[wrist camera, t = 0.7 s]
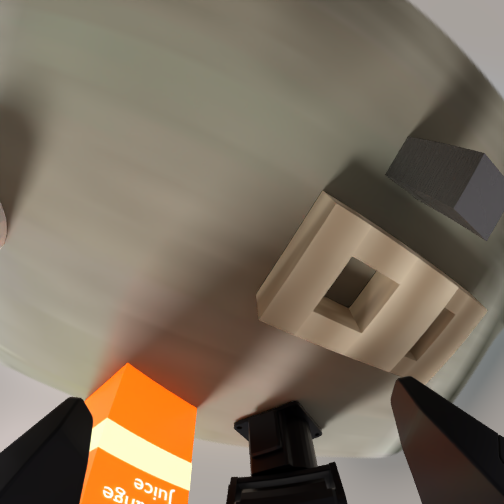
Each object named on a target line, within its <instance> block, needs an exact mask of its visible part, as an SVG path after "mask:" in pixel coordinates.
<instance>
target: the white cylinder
mask: <svg viewBox="0 0 504 504" xmlns="http://www.w3.org/2000/svg"><path fill="white" fill-rule="evenodd" d="M6 235H7V223H6V217H5V213H4V210H3V207H2V204H1V203H0V249H1V248H2V246H3V245H4V244H5V239H6Z"/></svg>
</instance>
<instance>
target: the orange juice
mask: <svg viewBox="0 0 504 504" xmlns="http://www.w3.org/2000/svg"><path fill="white" fill-rule="evenodd" d="M84 402H85V404H86V405H87V407H88V409H89V411H90V412H91V414H92V416H93V428H92V436H91V443H90V451H89V459H88V465H87V470H86V475H85V480H84V484H83V489H82V494H81V499H80V504H188V494H189V490H190V479H191V468H192V463H191V461H192V450H193V441H194V431H195V421H196V412H197V408H196V407H194V406H192V405H191V404H189V403H187V402H186V401H184V400H182V399H181V398H179V397H178V396H176V395H174V394H173V393H171V392H170V391H168V390H167V389H165V388H164V387H162V386H161V385H159V384H158V383H156V382H155V381H153V380H152V379H150V378H149V377H147V376H146V375H144V374H143V373H141V372H140V371H139V370H137V369H136V368H134V367H133V366H131V365H130V364H129V363H127V364H126V365H125V366H123V367H122V368H121V369H120V370H119V371H118V372H117V373H116V374H114V375H113V376H112V377H111V378H110V379H109V380H108V381H107V382H106V383H104V384H103V385H102V386H101V387H100V388H99V389H98V390H97V391H96V392H94V393H93V394H92V395H91V396H90V397H89V398H88V399H87V400H86V401H84Z"/></svg>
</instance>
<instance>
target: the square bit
mask: <svg viewBox="0 0 504 504" xmlns="http://www.w3.org/2000/svg"><path fill="white" fill-rule="evenodd" d="M385 175H386V176H387V177H388V178H390V179H391V180H392V181H394V182H395V183H396V184H398V185H399V186H400V187H402V188H403V189H404V190H405V191H407V192H408V193H409V194H411V195H412V196H413V197H414V198H416V199H417V200H419V201H420V202H422V203H424V204H426V205H428V206H429V207H431V208H433V209H435V210H436V211H438V212H440V213H442V214H443V215H445V216H447V217H448V218H450V219H452V220H454V221H455V222H457V223H459V224H460V225H462V226H463V227H465V228H467V229H468V230H470V231H472V232H473V233H475V234H476V235H478V236H479V237H481V238H483V239H484V240H486V241H487V239H488V238H489V236H490V234H491V233H492V231H493V229H494V228H495V226H496V224H497V222H498V221H499V219H500V217H501V215H502V214H503V212H504V176H503V175H502V174H501V173H500V171H499V170H498V169H497V168H496V166H495V165H494V164H493V163H492V162H491V160H490V159H489V158H488V157H487V156H486V155H485V153H482V152H478V151H474V150H470V149H466V148H461V147H457V146H453V145H448V144H444V143H439V142H434V141H429V140H424V139H419V138H413V137H407V139H406V141H405V143H404V144H403V146H402V148H401V149H400V151H399V153H398V154H397V156H396V158H395V159H394V161H393V163H392V164H391V166H390V168H389V169H388V171H387V173H386V174H385Z"/></svg>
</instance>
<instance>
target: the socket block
mask: <svg viewBox="0 0 504 504" xmlns="http://www.w3.org/2000/svg"><path fill="white" fill-rule="evenodd" d="M352 256H353V257H354V258H356V259H358V260H360V261H361V262H363V263H365V264H366V265H368V266H370V267H371V268H373V269H375V270H376V273H375V274H374V275H373V277H372V278H371V280H370V281H369V282H368V284H367V285H366V286H365V288H364V289H363V290H362V292H361V293H360V294H359V296H358V297H357V298H356V300H355V301H354V302H353V304H352V305H351V306H350V308H347V307H345V306H343V305H341V304H339V303H337V302H334V301H332V300H330V299H328V298H326V297H324V295H325V294H326V292H327V291H328V289H329V288H330V287H331V285H332V284H333V283H334V281H335V280H336V278H337V277H338V276H339V274H340V273H341V271H342V270H343V268H344V267H345V266H346V264H347V263H348V261H349V260H350V258H351V257H352ZM256 299H257V309H258V320H259V321H261V322H264V323H266V324H268V325H271V326H273V327H275V328H278V329H280V330H282V331H285V332H287V333H290V334H292V335H294V336H297V337H299V338H302V339H304V340H306V341H309V342H311V343H314V344H316V345H319V346H321V347H324V348H326V349H329V350H331V351H334V352H336V353H339V354H342V355H344V356H347V357H349V358H352V359H355V360H357V361H360V362H362V363H365V364H368V365H370V366H373V367H376V368H379V369H381V370H384V371H387V372H390V373H392V374H395V375H398V376H401V377H405V376H412V377H414V378H415V379H417V380H418V381H420V382H421V383H422V384H424V385H425V384H426V383H427V382H428V381H429V380H430V379H431V378H432V377H433V376H434V375H435V374H436V373H437V372H438V371H439V370H440V369H441V367H442V366H443V365H444V364H445V363H446V362H447V361H448V360H449V358H450V357H451V356H452V355H453V354H454V353H455V352H456V350H457V349H458V348H459V347H460V346H461V344H462V343H463V342H464V341H465V340H466V338H467V337H468V336H469V335H470V333H471V332H472V331H473V330H474V328H475V327H476V326H477V325H478V323H479V322H480V321H481V319H482V318H483V317H484V315H485V314H486V313H487V311H488V310H487V309H486V308H485V307H484V306H483V305H482V304H481V303H480V302H479V301H478V300H477V299H475V298H474V297H473V296H472V295H471V294H470V293H469V292H468V291H467V290H465V289H464V288H463V287H462V286H460V285H459V284H458V283H456V282H455V281H454V280H453V279H451V278H450V277H449V276H447V275H446V274H445V273H443V272H442V271H441V270H439V269H438V268H437V267H435V266H434V265H433V264H431V263H430V262H429V261H427V260H426V259H424V258H423V257H422V256H420V255H419V254H418V253H416V252H415V251H413V250H412V249H411V248H409V247H408V246H406V245H405V244H403V243H402V242H401V241H399V240H398V239H396V238H395V237H393V236H392V235H390V234H389V233H387V232H386V231H385V230H383V229H382V228H380V227H379V226H377V225H376V224H374V223H373V222H371V221H370V220H368V219H367V218H365V217H364V216H362V215H360V214H359V213H357V212H356V211H354V210H353V209H351V208H350V207H348V206H346V205H345V204H343V203H342V202H340V201H339V200H337V199H335V198H334V197H332V196H331V195H329V194H327V193H326V192H324V191H322V192H321V194H320V195H319V197H318V198H317V200H316V202H315V203H314V205H313V206H312V208H311V209H310V211H309V213H308V214H307V216H306V217H305V219H304V221H303V222H302V224H301V225H300V227H299V228H298V230H297V232H296V233H295V235H294V236H293V238H292V239H291V241H290V243H289V244H288V246H287V247H286V249H285V250H284V252H283V254H282V255H281V257H280V258H279V260H278V261H277V263H276V264H275V266H274V268H273V269H272V271H271V272H270V274H269V275H268V277H267V278H266V280H265V281H264V283H263V284H262V286H261V288H260V289H259V291H258V292H257V294H256Z"/></svg>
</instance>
